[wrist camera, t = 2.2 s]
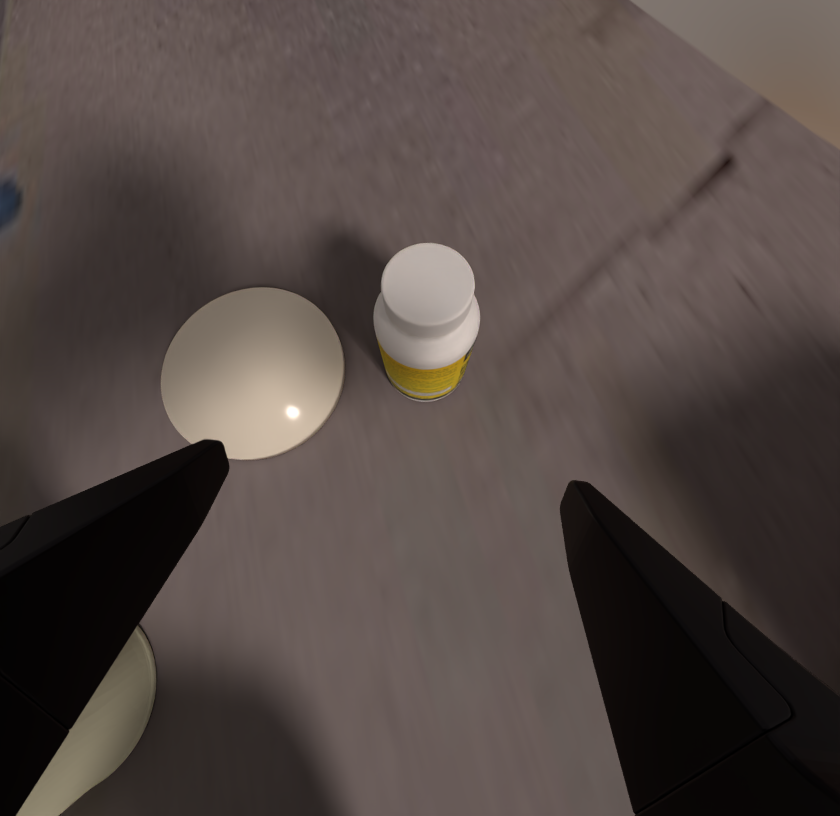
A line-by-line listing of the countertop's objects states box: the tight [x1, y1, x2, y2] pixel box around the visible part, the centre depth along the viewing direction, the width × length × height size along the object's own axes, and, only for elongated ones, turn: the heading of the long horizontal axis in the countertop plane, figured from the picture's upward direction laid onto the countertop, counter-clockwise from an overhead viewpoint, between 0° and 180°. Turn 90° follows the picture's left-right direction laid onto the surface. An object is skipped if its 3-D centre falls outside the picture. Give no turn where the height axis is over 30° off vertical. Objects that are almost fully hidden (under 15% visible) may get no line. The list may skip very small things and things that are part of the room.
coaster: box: [161, 287, 346, 460], centre depth 24 cm, size 12×12×1 cm
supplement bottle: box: [373, 243, 480, 402], centre depth 19 cm, size 5×5×10 cm
